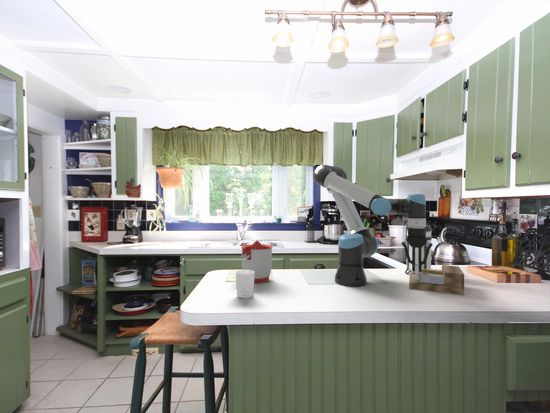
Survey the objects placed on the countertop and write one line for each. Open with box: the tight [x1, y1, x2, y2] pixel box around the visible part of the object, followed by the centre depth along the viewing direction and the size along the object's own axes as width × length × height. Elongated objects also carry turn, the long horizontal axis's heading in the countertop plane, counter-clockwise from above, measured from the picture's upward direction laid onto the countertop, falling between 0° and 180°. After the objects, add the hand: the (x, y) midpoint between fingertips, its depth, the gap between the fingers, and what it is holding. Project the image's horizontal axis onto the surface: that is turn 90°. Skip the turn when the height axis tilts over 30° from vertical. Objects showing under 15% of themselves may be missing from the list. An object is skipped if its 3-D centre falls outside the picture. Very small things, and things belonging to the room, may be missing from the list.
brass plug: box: [421, 268, 443, 275], centre depth 135 cm, size 11×4×4 cm, turn 63°
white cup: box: [235, 269, 255, 299], centre depth 116 cm, size 8×8×10 cm
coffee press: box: [404, 224, 433, 275], centre depth 156 cm, size 17×16×30 cm
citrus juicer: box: [240, 240, 273, 284], centre depth 140 cm, size 16×17×20 cm
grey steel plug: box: [419, 272, 445, 285], centre depth 126 cm, size 11×4×4 cm, turn 63°
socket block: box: [408, 264, 465, 296], centre depth 130 cm, size 21×17×9 cm
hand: (416, 278), depth 128 cm, fingers closed
